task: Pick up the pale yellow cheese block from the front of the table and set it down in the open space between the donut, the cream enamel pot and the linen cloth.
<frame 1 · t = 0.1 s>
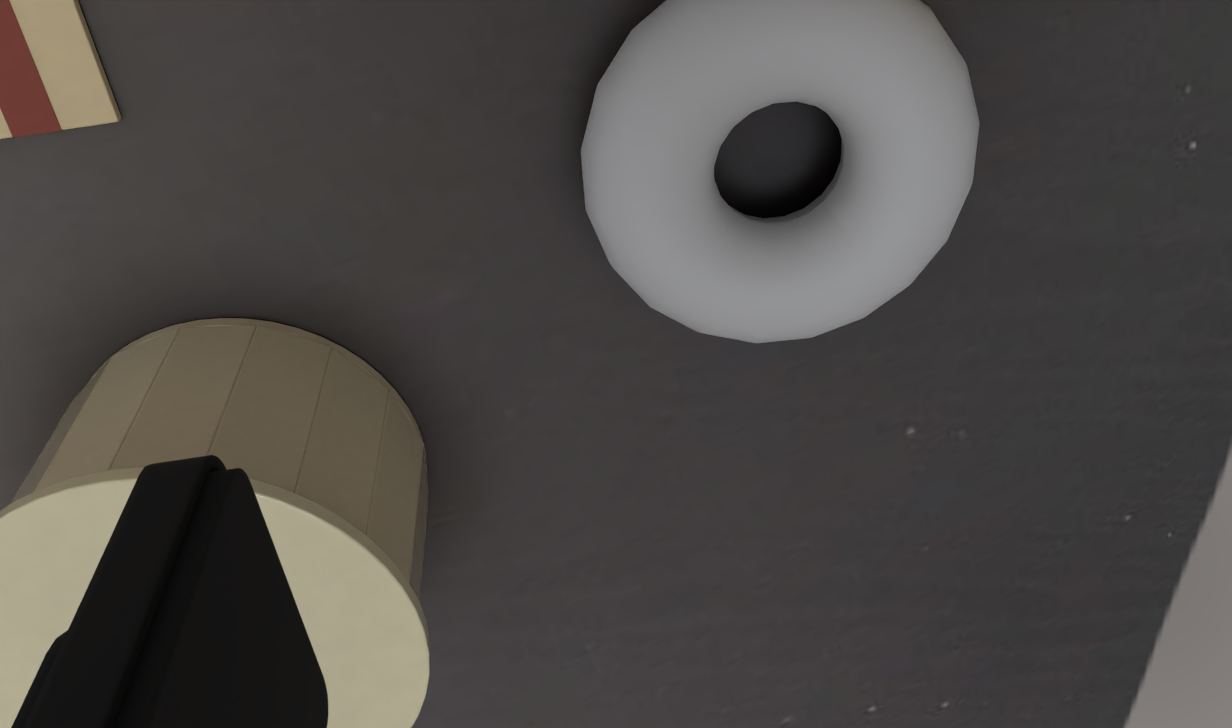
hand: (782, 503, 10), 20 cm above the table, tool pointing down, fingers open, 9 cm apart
donut: (763, 136, 29), on the table
pot lid: (194, 652, 27), point 7 cm above the table, touching pot
pot: (252, 468, 33), on the table
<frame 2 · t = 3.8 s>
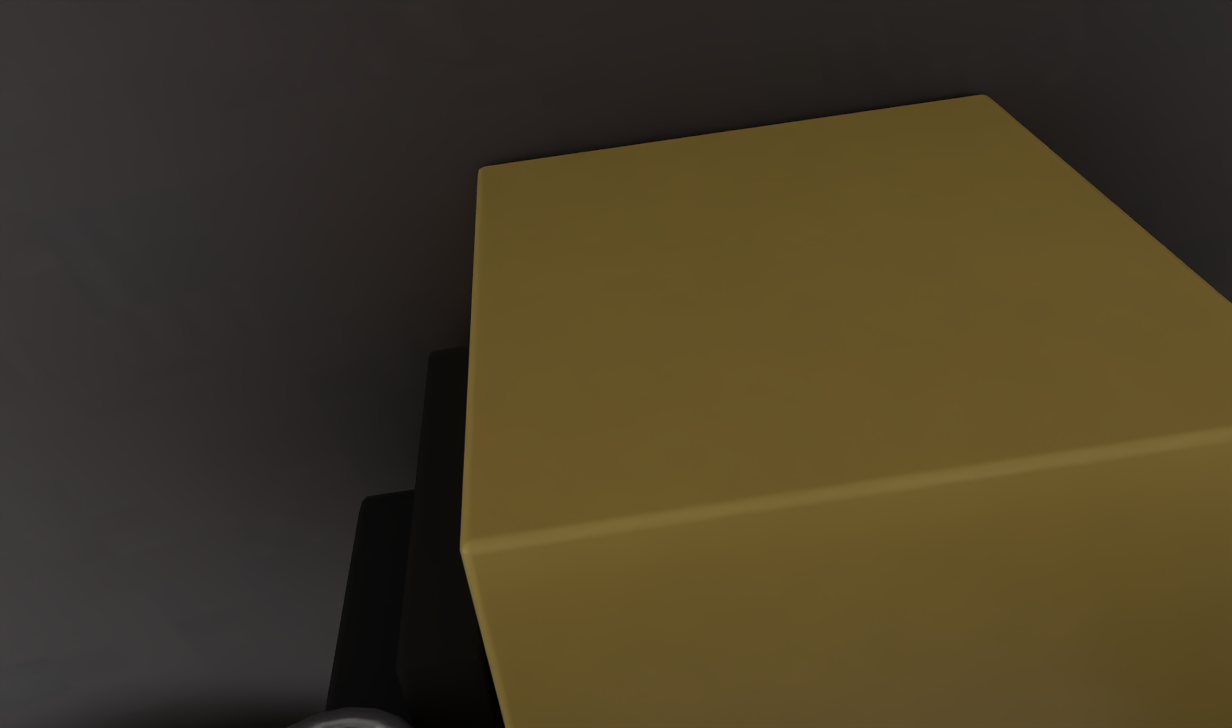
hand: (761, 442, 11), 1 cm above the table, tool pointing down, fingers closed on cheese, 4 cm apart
cheese: (750, 409, 11), on the table, touching gripper
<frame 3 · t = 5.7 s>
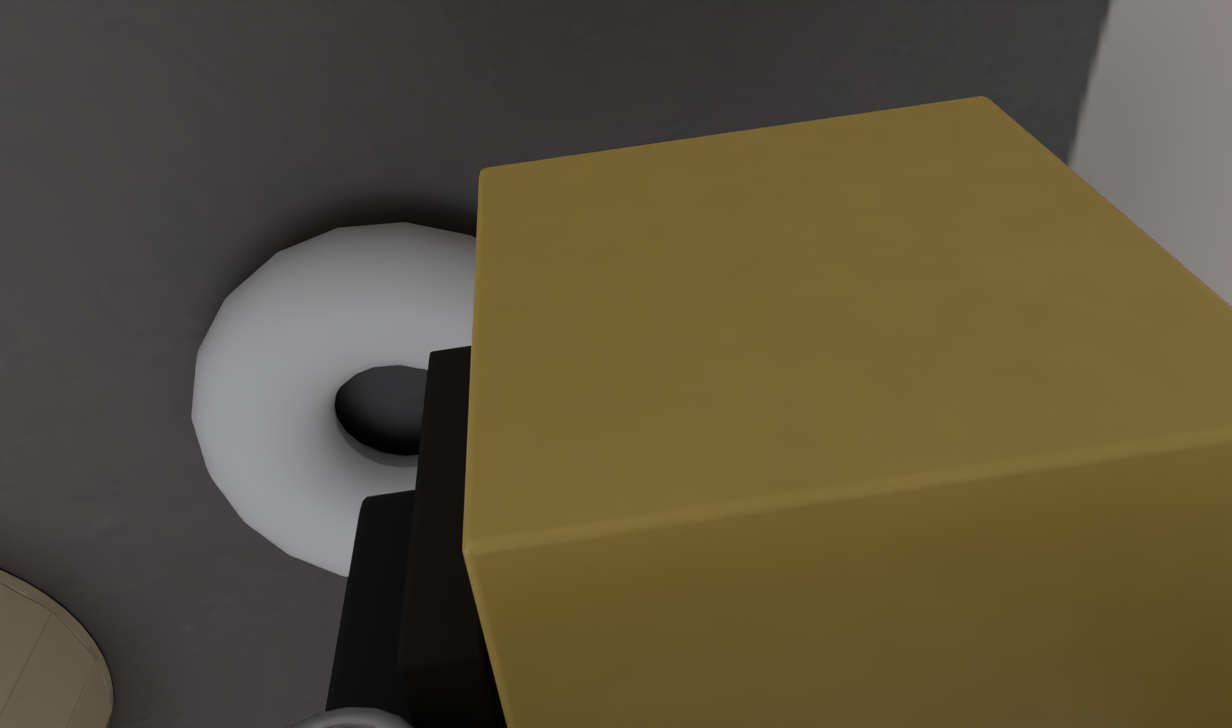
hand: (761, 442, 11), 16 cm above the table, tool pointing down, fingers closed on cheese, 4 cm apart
cheese: (750, 409, 11), point 16 cm above the table, touching gripper
donut: (407, 374, 29), on the table
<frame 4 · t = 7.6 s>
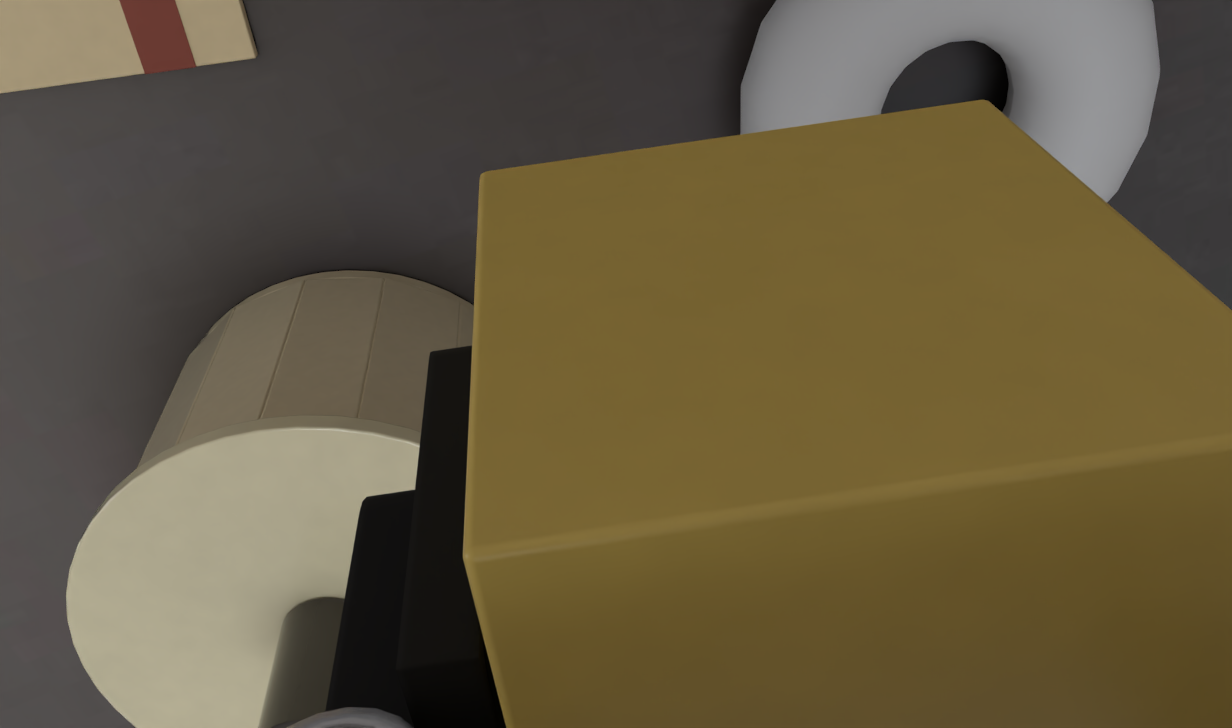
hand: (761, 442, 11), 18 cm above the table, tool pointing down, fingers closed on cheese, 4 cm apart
cheese: (751, 412, 11), point 17 cm above the table, touching gripper
donut: (920, 82, 28), on the table
pot lid: (333, 615, 26), point 7 cm above the table, touching pot
pot: (367, 429, 32), on the table
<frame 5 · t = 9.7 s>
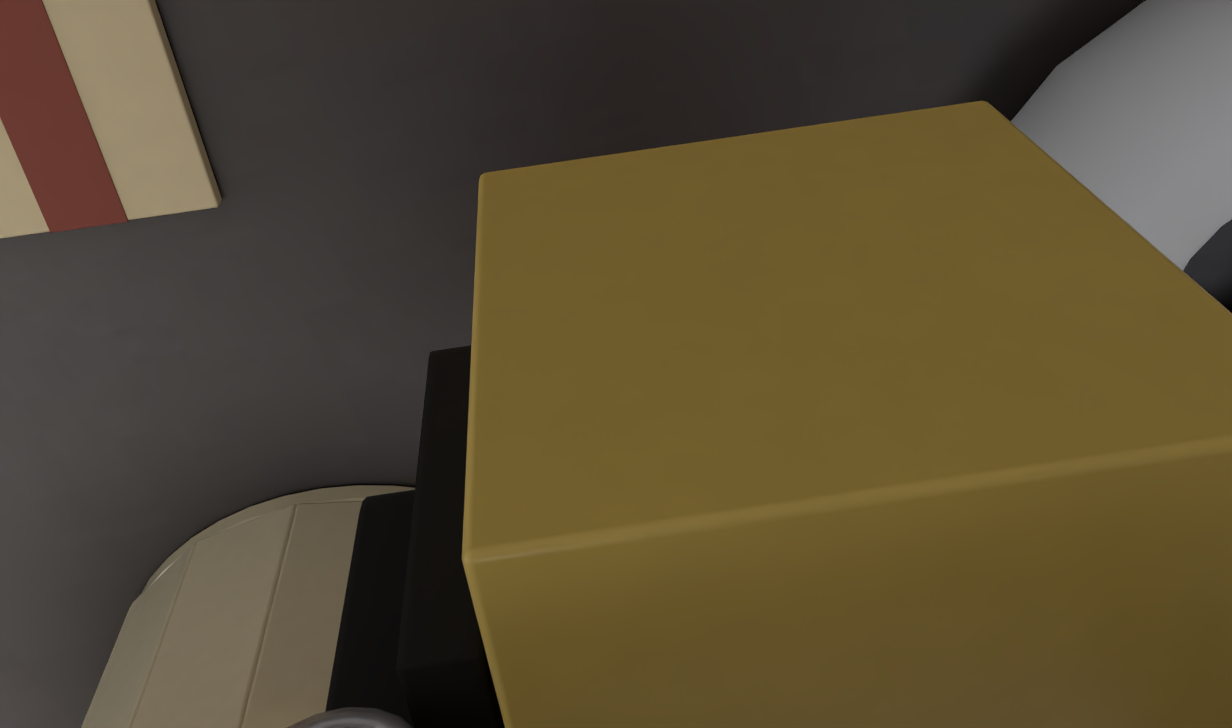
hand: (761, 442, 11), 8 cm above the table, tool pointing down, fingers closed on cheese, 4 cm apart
cheese: (750, 413, 11), point 7 cm above the table, touching gripper
donut: (1191, 222, 19), on the table
pot: (384, 679, 23), on the table
when the fingers open (1 cm above the table, at t = 11.7 s): cheese stays where it is, on the table.
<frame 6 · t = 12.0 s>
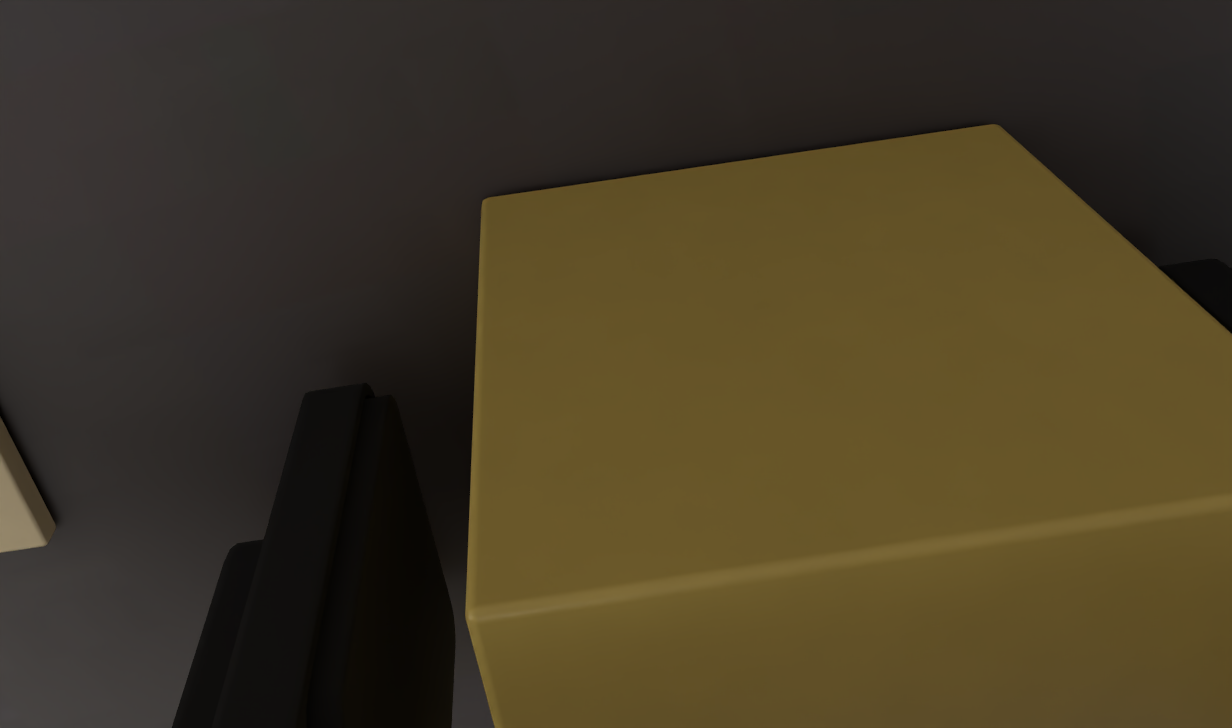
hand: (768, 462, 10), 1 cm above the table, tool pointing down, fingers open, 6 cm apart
cheese: (757, 438, 11), on the table
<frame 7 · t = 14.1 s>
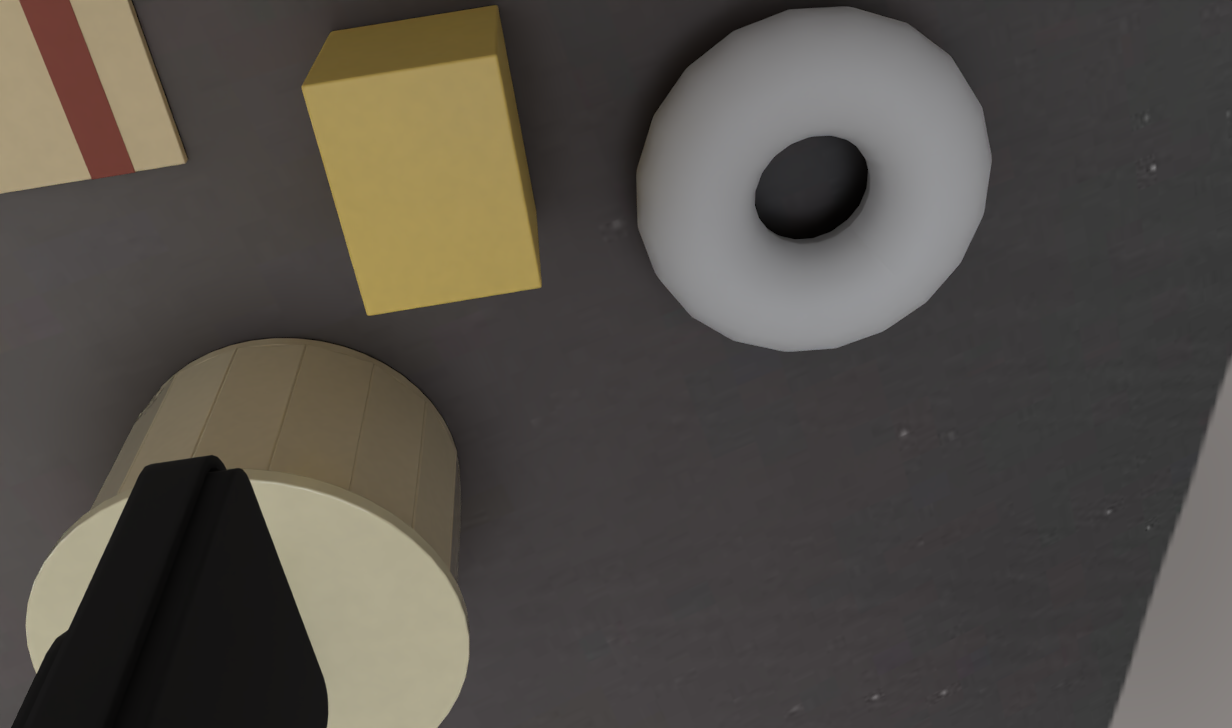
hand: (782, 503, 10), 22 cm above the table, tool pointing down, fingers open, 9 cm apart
cheese: (438, 126, 31), on the table
donut: (796, 166, 32), on the table
pot lid: (257, 639, 30), point 7 cm above the table, touching pot
pot: (300, 475, 36), on the table
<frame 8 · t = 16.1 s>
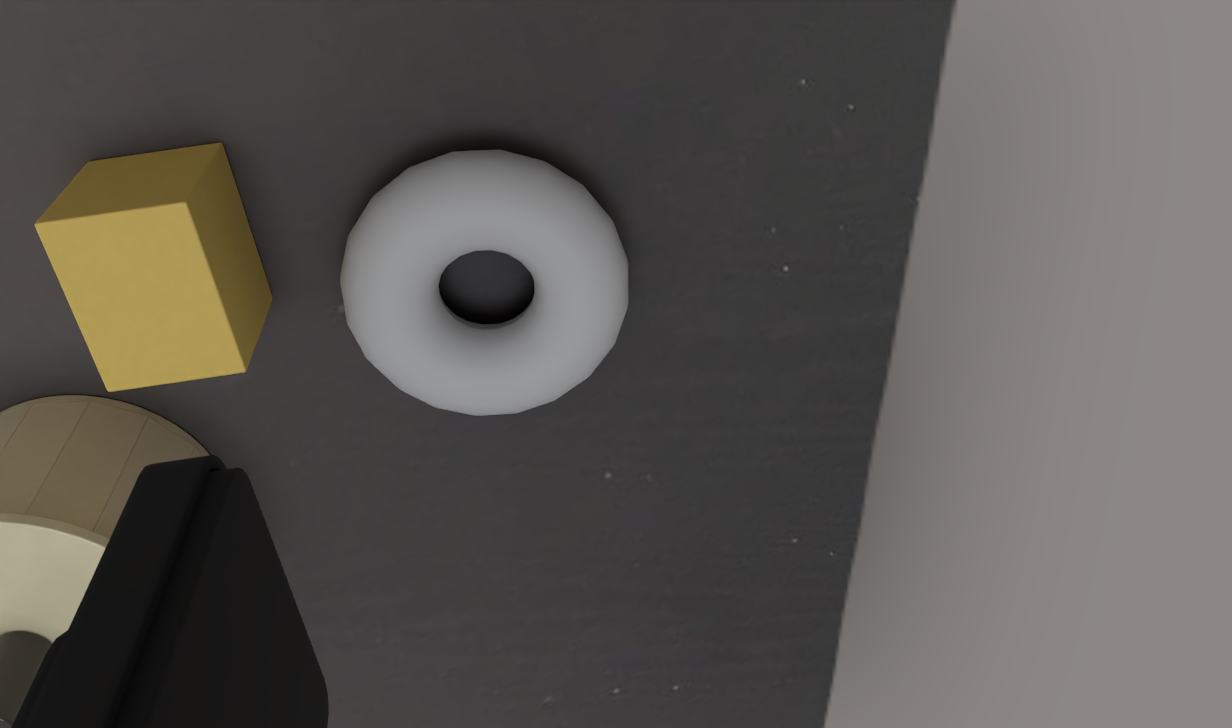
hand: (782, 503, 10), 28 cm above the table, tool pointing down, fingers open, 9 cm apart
cheese: (184, 232, 38), on the table
donut: (487, 264, 40), on the table
pot lid: (30, 642, 37), point 7 cm above the table, touching pot
pot: (98, 504, 44), on the table
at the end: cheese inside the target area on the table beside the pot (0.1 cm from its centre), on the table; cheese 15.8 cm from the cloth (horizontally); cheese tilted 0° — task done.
